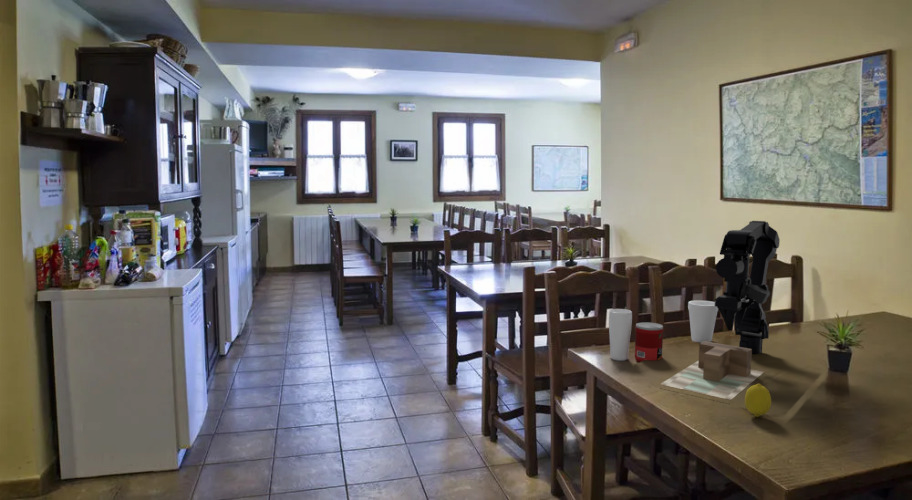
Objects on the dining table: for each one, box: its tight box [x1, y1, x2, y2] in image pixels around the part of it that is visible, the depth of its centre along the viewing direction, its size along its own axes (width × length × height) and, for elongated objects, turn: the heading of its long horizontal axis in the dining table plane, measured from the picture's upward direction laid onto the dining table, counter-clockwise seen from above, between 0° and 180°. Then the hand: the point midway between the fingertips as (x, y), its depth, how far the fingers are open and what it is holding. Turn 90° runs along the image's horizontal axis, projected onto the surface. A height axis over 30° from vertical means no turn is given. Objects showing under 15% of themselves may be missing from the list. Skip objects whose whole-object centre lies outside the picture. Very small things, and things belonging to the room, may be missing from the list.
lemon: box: [744, 383, 772, 418], centre depth 146 cm, size 6×6×8 cm
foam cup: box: [687, 299, 719, 344], centre depth 214 cm, size 10×9×13 cm
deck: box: [659, 359, 765, 405], centre depth 171 cm, size 29×18×1 cm, turn 139°
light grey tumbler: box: [608, 308, 633, 362], centre depth 192 cm, size 7×7×15 cm
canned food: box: [634, 322, 664, 363], centre depth 191 cm, size 8×8×11 cm
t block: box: [698, 341, 753, 382], centre depth 174 cm, size 13×13×7 cm
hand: (734, 327), depth 182 cm, fingers open, 8 cm apart
